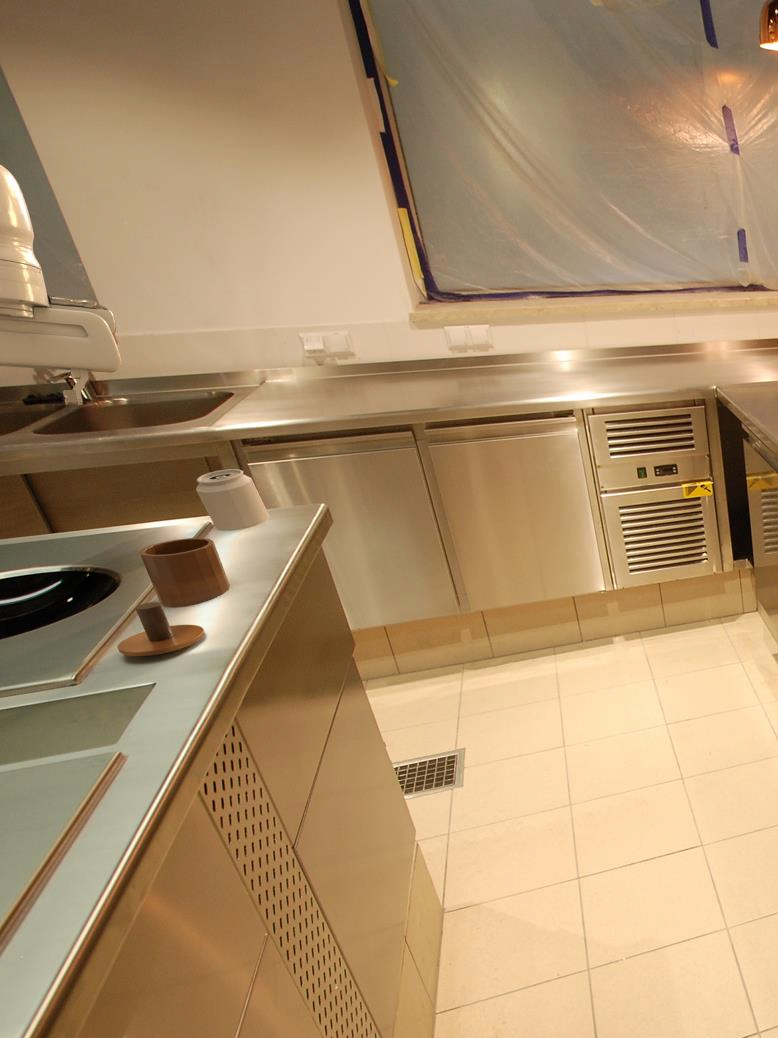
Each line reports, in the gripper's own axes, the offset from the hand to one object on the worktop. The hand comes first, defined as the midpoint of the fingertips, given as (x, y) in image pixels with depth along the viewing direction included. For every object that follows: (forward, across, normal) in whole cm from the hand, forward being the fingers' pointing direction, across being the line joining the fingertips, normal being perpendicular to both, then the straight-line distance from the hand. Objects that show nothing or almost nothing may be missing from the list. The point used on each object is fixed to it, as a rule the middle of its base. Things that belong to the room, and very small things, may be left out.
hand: (22, 402), depth 108 cm
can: (+20, -25, -22) cm, 39 cm away
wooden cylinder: (+28, -13, +3) cm, 31 cm away
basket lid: (+31, -6, +17) cm, 36 cm away
